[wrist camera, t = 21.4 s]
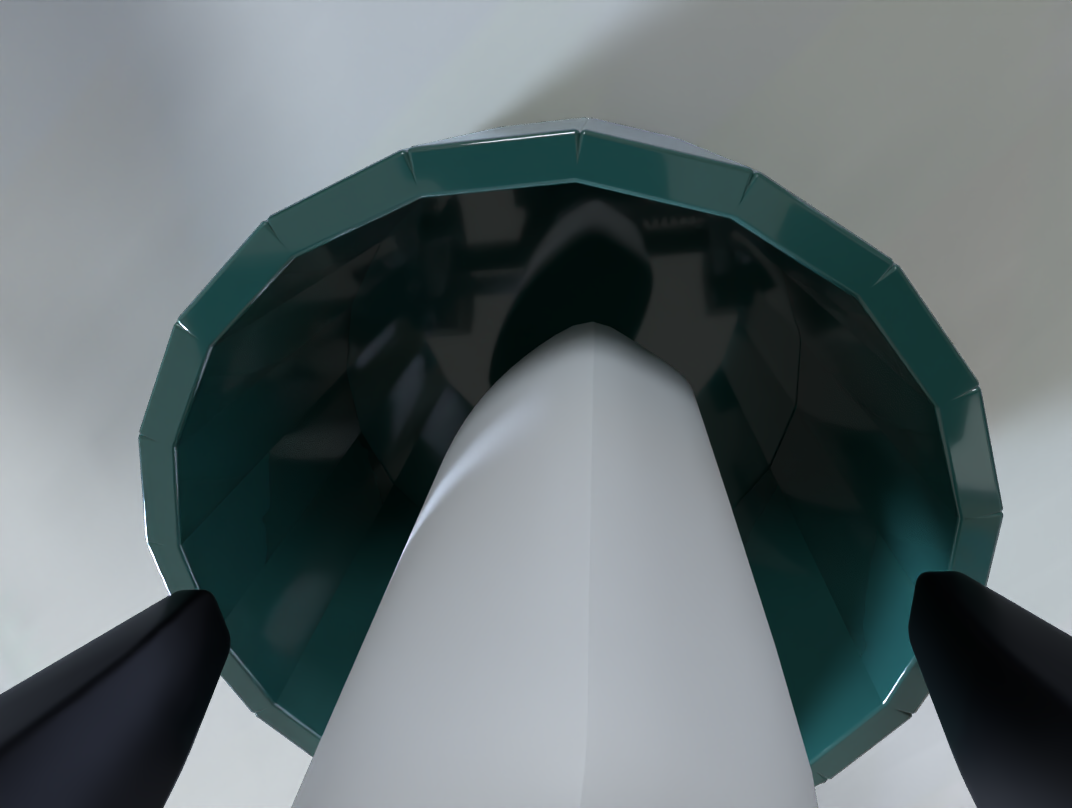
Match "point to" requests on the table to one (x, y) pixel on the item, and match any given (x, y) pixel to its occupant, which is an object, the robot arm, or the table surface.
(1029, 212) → the table surface
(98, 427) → the table surface
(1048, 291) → the table surface
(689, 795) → the eye dropper bottle
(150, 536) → the canister
